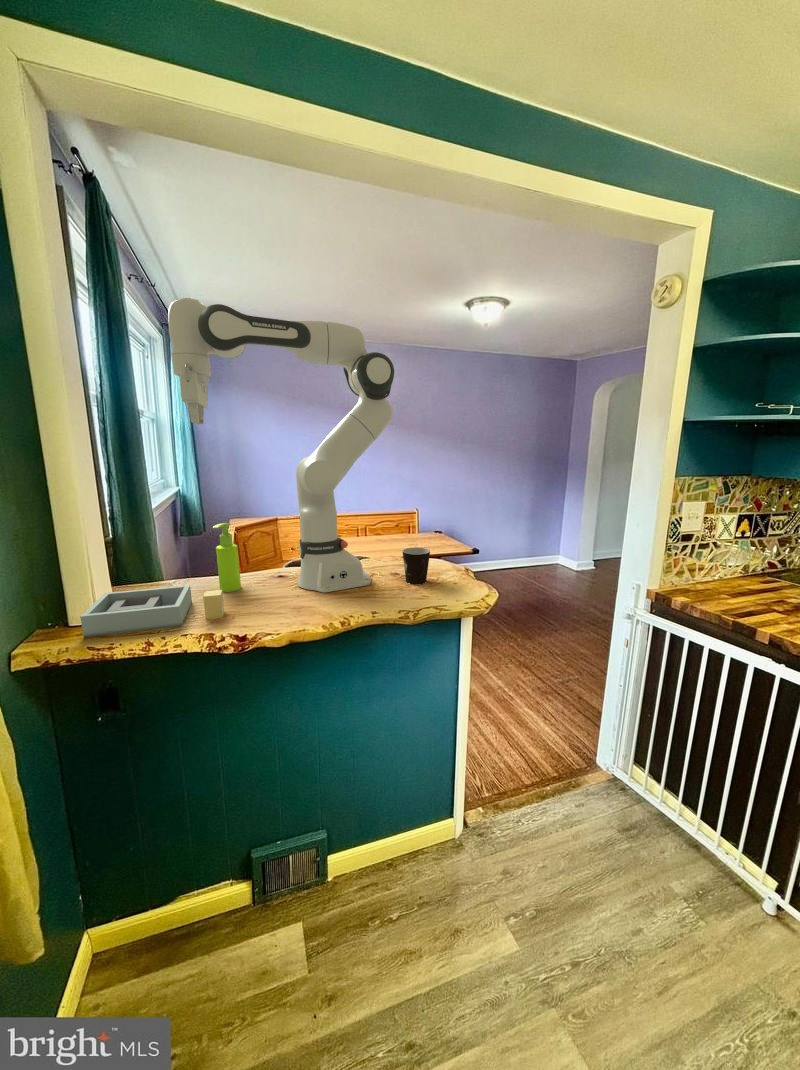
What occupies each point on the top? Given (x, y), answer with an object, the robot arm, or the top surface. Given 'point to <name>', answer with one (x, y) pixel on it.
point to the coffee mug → (416, 564)
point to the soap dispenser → (227, 561)
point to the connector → (213, 604)
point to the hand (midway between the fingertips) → (197, 423)
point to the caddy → (137, 610)
